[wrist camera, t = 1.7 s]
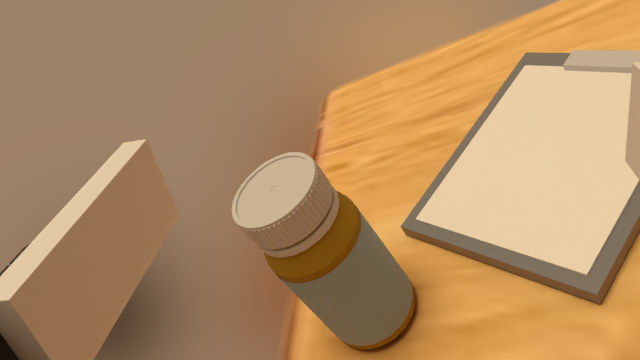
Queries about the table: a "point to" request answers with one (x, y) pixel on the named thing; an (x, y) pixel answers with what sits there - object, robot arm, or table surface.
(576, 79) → the clipboard
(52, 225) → the robot arm
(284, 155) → the bottle
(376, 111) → the table surface
